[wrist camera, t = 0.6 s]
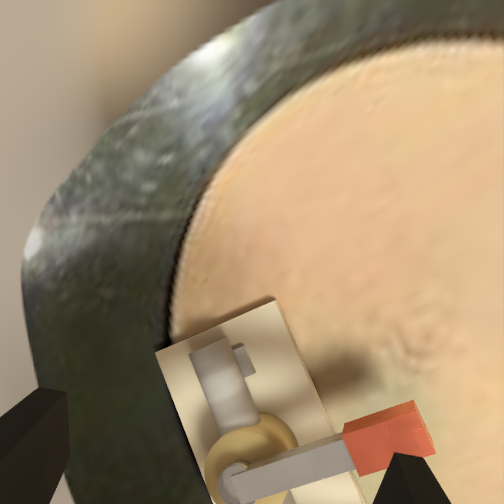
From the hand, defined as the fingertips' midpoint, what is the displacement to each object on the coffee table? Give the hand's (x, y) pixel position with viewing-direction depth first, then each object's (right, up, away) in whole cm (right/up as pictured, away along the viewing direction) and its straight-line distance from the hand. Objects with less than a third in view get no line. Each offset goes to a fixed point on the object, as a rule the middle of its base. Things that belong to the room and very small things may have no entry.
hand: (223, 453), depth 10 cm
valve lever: (+4, -7, +15) cm, 18 cm away
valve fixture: (+2, -9, +21) cm, 23 cm away
